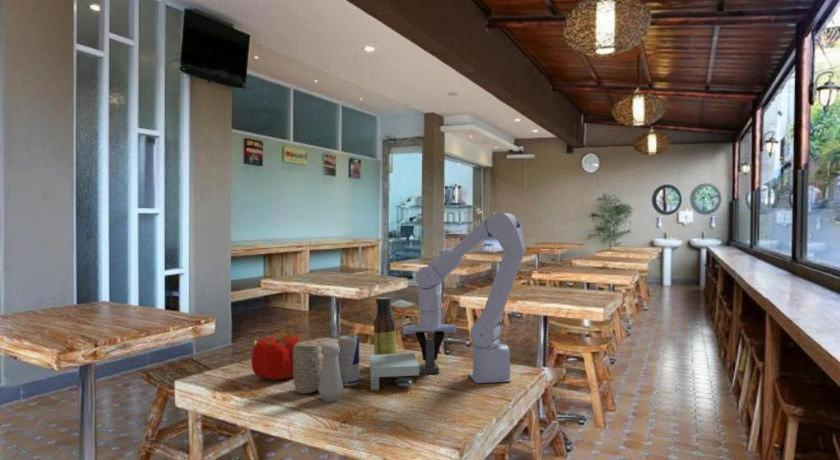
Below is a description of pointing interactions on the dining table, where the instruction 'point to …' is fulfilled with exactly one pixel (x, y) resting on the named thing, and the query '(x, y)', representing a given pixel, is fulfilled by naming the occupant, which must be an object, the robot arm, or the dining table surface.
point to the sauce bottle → (384, 328)
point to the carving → (306, 366)
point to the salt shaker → (330, 374)
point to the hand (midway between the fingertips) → (429, 359)
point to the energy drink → (349, 359)
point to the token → (403, 382)
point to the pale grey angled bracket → (391, 367)
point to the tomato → (274, 357)
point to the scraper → (429, 359)
